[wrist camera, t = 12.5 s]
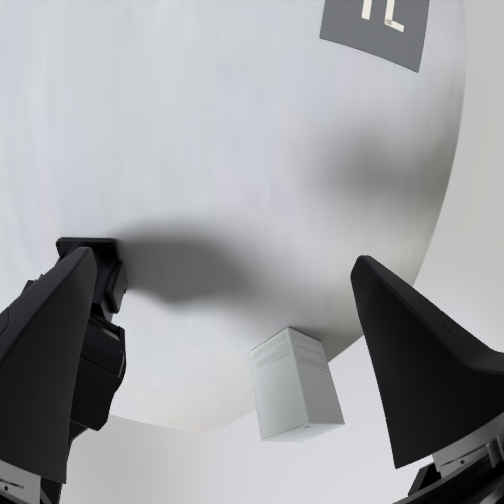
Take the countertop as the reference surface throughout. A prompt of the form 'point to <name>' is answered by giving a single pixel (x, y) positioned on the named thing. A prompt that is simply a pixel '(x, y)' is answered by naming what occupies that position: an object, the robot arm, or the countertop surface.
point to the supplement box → (293, 388)
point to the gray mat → (378, 27)
